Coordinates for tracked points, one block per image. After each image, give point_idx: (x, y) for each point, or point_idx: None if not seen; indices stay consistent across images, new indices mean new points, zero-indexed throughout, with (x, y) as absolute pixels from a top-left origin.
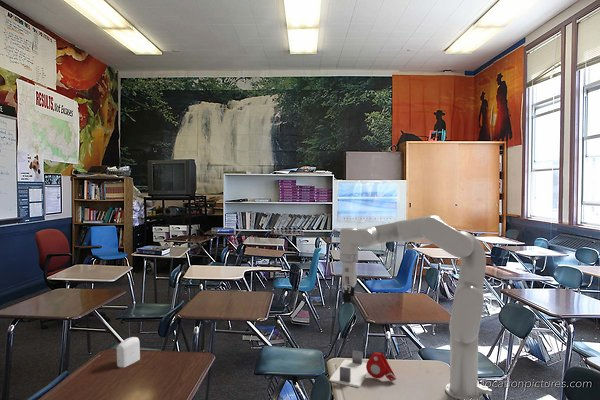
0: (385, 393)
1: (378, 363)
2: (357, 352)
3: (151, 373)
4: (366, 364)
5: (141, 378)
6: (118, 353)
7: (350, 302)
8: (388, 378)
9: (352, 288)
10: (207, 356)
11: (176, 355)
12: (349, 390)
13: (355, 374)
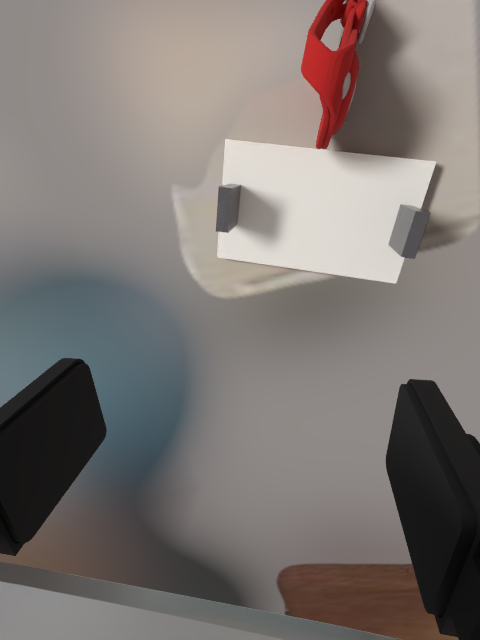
0: (465, 31)
1: (353, 70)
2: (230, 208)
3: (400, 627)
4: (326, 146)
5: (425, 635)
6: None
7: (432, 381)
8: (360, 27)
9: (7, 460)
10: (296, 568)
11: (307, 610)
12: (448, 199)
13: (337, 194)
